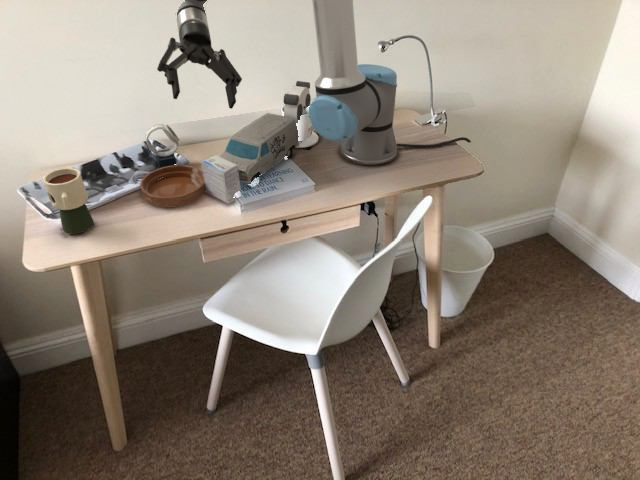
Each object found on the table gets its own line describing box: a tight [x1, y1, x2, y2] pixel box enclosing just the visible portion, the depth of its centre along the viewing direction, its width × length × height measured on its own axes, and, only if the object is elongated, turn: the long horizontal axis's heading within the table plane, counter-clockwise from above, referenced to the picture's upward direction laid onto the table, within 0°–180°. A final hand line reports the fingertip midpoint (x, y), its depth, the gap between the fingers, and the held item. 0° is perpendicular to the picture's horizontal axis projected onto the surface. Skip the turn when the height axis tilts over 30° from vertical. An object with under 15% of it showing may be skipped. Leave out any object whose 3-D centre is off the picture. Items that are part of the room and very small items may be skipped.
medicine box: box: [201, 154, 242, 205], centre depth 121 cm, size 8×4×9 cm, turn 50°
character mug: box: [42, 167, 95, 235], centre depth 109 cm, size 11×7×13 cm, turn 20°
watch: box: [145, 123, 180, 169], centre depth 132 cm, size 6×8×11 cm
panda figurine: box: [283, 80, 319, 149], centre depth 143 cm, size 12×11×15 cm
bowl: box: [139, 164, 207, 208], centre depth 124 cm, size 15×15×3 cm
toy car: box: [219, 112, 299, 185], centre depth 133 cm, size 11×25×10 cm, turn 152°
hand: (205, 100), depth 122 cm, fingers open, 13 cm apart
